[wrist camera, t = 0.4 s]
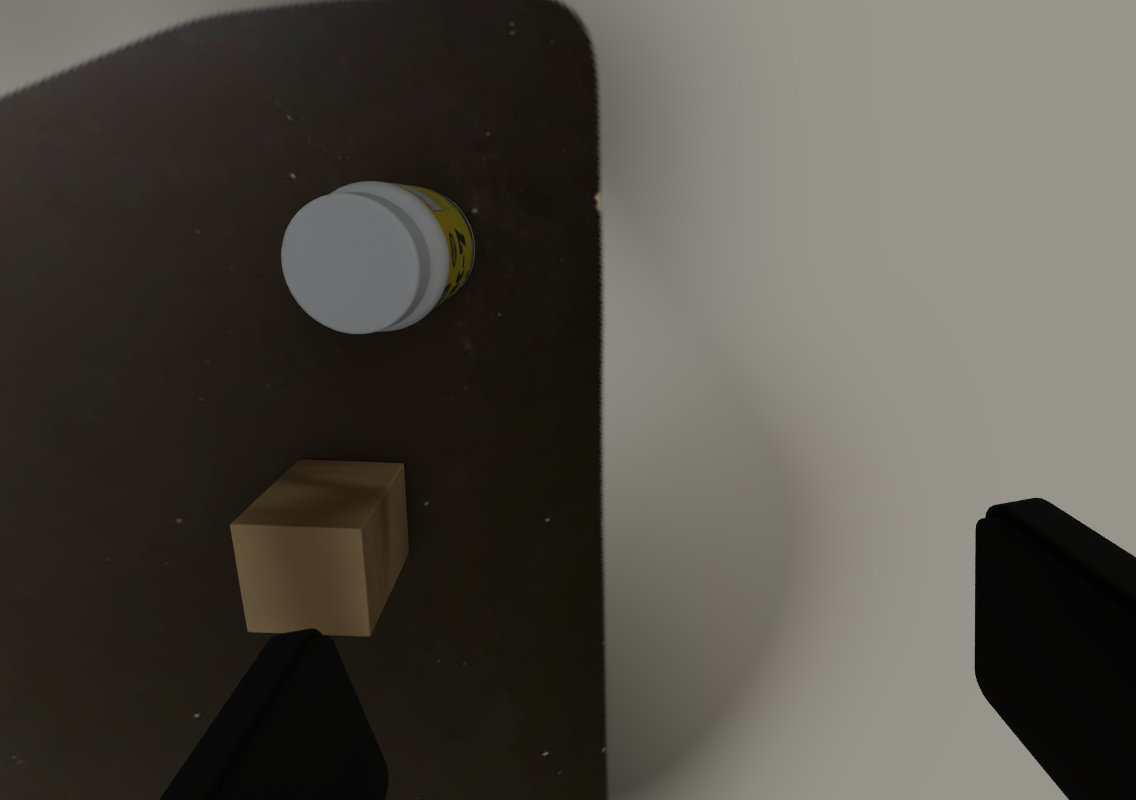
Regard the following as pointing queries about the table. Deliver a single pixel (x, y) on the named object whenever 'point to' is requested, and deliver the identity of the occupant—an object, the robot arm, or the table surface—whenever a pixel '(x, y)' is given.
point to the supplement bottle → (376, 256)
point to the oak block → (322, 547)
